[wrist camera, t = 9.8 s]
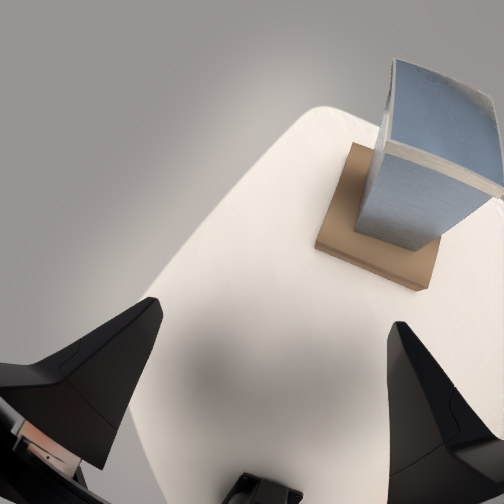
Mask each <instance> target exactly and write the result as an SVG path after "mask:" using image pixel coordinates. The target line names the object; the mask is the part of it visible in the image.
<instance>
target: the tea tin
mask: <svg viewBox="0 0 504 504" xmlns="http://www.w3.org/2000/svg"><path fill="white" fill-rule="evenodd" d="M503 195H504V154H503V147H502V140H501V135H500V129H499V124H498V119H497V114H496V110H495V106H494V102H493V98H492V97H490V96H488V95H487V94H485V93H483V92H481V91H479V90H477V89H475V88H473V87H471V86H469V85H467V84H465V83H463V82H460V81H458V80H456V79H454V78H452V77H449V76H447V75H444V74H442V73H439V72H437V71H434V70H432V69H429V68H427V67H424V66H421V65H418V64H415V63H412V62H409V61H406V60H403V59H400V58H396V57H393V61H392V66H391V82H390V91H389V95H388V99H387V103H386V107H385V111H384V115H383V119H382V123H381V126H380V130H379V134H378V137H377V141H376V144H375V148H374V151H373V155H372V158H371V161H370V165H369V168H368V171H367V175H366V180H365V185H364V189H363V194H362V198H361V202H360V207H359V211H358V215H357V219H356V223H355V227H354V232H357V233H360V234H363V235H366V236H369V237H373V238H376V239H379V240H382V241H385V242H388V243H391V244H394V245H397V246H400V247H403V248H406V249H409V250H412V251H415V252H416V251H418V250H419V249H421V248H423V247H424V246H426V245H427V244H429V243H430V242H432V241H433V240H435V239H436V238H438V237H439V236H440V235H442V234H443V233H445V232H446V231H448V230H449V229H451V228H452V227H453V226H455V225H456V224H458V223H459V222H460V221H462V220H463V219H464V218H466V217H467V216H469V215H470V214H471V213H473V212H474V211H475V210H477V209H478V208H479V207H481V206H482V205H483V204H484V203H486V202H487V201H488V200H490V199H491V198H492V197H495V198H497V199H499V198H500V197H501V196H503Z"/></svg>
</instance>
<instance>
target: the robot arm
mask: <svg viewBox="0 0 504 504" xmlns="http://www.w3.org/2000/svg"><path fill="white" fill-rule="evenodd" d="M162 319H163V311H162V308H161V305H160V302H159V300H158V299H157V298H154V297H147V298H145V299H144V300H142V301H140V302H139V303H137V304H135V305H134V306H132V307H130V308H129V309H127V310H126V311H124V312H122V313H121V314H119V315H118V316H116V317H114V318H113V319H111V320H109V321H108V322H106V323H104V324H103V325H101V326H100V327H98V328H96V329H95V330H93V331H92V332H90V333H89V334H87V335H85V336H83V337H82V338H80V339H79V340H77V341H75V342H74V343H72V344H70V345H69V346H67V347H65V348H63V349H62V350H60V351H58V352H56V353H54V354H52V355H50V356H48V357H46V358H45V359H43V360H41V361H39V362H37V363H34V364H31V365H17V364H8V363H0V497H2V498H5V499H7V500H9V501H11V502H14V503H16V504H111V503H109V502H108V501H106V500H104V499H103V498H101V497H99V496H97V495H96V494H94V493H92V492H91V491H89V490H88V488H87V485H86V482H85V479H84V476H83V473H82V470H81V467H80V466H79V465H80V463H81V461H82V460H84V461H86V462H88V463H89V464H91V465H93V466H94V467H96V468H98V469H100V470H103V468H104V465H105V463H106V460H107V457H108V454H109V452H110V449H111V446H112V444H113V441H114V439H115V436H116V434H117V430H118V428H119V426H120V423H121V421H122V418H123V416H124V413H125V411H126V408H127V406H128V404H129V402H130V399H131V397H132V395H133V392H134V390H135V387H136V385H137V383H138V381H139V378H140V376H141V374H142V371H143V369H144V367H145V365H146V362H147V360H148V358H149V356H150V354H151V351H152V349H153V346H154V343H155V340H156V337H157V334H158V331H159V328H160V325H161V322H162ZM387 387H388V401H389V421H390V470H389V477H390V478H389V487H388V500H387V504H504V440H501V439H499V438H498V437H496V436H495V435H494V434H493V433H492V432H491V431H490V430H489V429H488V427H487V426H486V425H485V424H484V423H483V421H482V420H481V419H480V418H479V417H478V415H477V414H476V413H475V412H474V411H473V409H472V408H471V407H470V406H469V404H468V403H467V402H466V401H465V399H464V398H463V396H462V395H461V394H460V392H459V391H458V390H457V388H456V387H454V384H453V383H452V381H451V380H450V379H449V377H448V376H447V375H446V373H445V372H444V370H443V369H442V368H441V366H440V365H439V364H438V363H437V361H436V360H435V359H434V357H433V356H432V355H431V353H430V352H429V351H428V350H427V348H426V347H425V346H424V344H423V343H422V342H421V341H420V339H419V338H418V337H417V336H416V334H415V333H414V332H413V331H412V330H411V328H410V327H409V326H408V325H407V323H406V322H403V321H396V322H394V323H393V325H392V328H391V330H390V333H389V335H388V339H387ZM244 477H246V478H247V479H245V478H244ZM296 496H300V497H296ZM302 499H303V494H302V493H301V492H298V491H294V490H291V489H288V488H286V487H283V486H280V485H277V484H274V483H272V482H269V481H266V480H263V479H260V478H257V477H255V476H252V475H250V474H247V473H243V474H241V476H240V477H239V479H238V480H237V482H236V483H235V485H234V486H233V488H232V489H231V491H230V492H229V494H228V495H227V497H226V498H225V499H224V501H223V502H222V504H299V502H300V501H301V500H302Z"/></svg>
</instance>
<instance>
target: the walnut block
mask: <svg viewBox="0 0 504 504" xmlns="http://www.w3.org/2000/svg"><path fill="white" fill-rule="evenodd" d="M373 151H374V150H373V149H370V148H368V147H365V146H362V145H359V144H357V143H354V142H353V143H352V146H351V149H350V152H349V155H348V158H347V161H346V163H345V166H344V169H343V172H342V174H341V177H340V180H339V183H338V185H337V188H336V191H335V193H334V196H333V199H332V201H331V204H330V206H329V209H328V212H327V214H326V217H325V219H324V222H323V224H322V227H321V229H320V232H319V234H318V237H317V239H316V244H315V249H318V250H320V251H323V252H325V253H327V254H330V255H332V256H335V257H337V258H340V259H342V260H344V261H347V262H349V263H352V264H354V265H356V266H359V267H361V268H364V269H366V270H368V271H371V272H373V273H375V274H378V275H380V276H382V277H385V278H387V279H389V280H392V281H394V282H396V283H399V284H401V285H403V286H405V287H408V288H410V289H412V290H414V291H420V290H424V289H427V288H428V286H429V282H430V279H431V275H432V272H433V268H434V264H435V260H436V256H437V252H438V248H439V244H440V239H441V235H440V236H439V237H438V238H436V239H435V240H433V241H432V242H430V243H429V244H427V245H426V246H424V247H423V248H421V249H419V250H418V251H416V252H415V251H412V250H409V249H406V248H403V247H400V246H397V245H394V244H391V243H388V242H385V241H382V240H379V239H376V238H373V237H369V236H366V235H363V234H360V233H357V232H354V227H355V223H356V219H357V215H358V211H359V207H360V202H361V198H362V194H363V189H364V185H365V180H366V175H367V171H368V168H369V165H370V161H371V158H372V155H373Z"/></svg>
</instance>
